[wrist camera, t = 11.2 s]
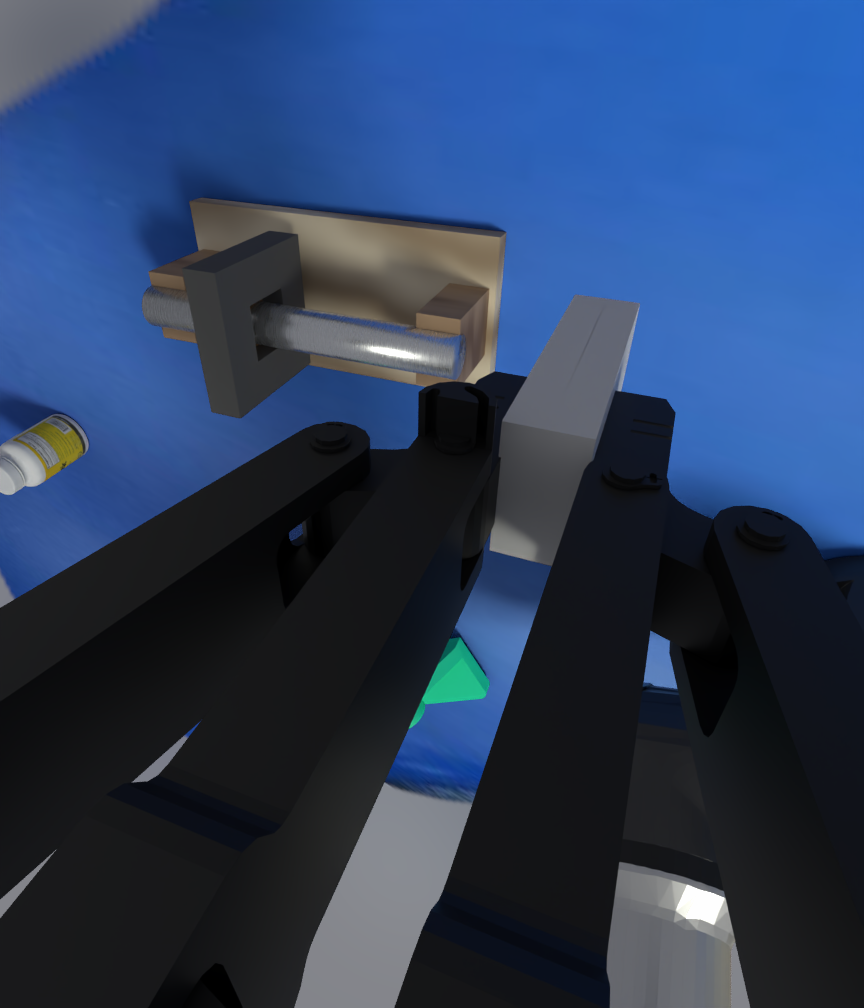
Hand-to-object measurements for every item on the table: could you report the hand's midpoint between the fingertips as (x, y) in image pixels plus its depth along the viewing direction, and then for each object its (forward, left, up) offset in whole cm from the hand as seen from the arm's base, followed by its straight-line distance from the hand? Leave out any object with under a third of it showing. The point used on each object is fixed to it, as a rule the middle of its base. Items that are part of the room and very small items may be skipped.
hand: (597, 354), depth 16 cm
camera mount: (-52, +14, -31) cm, 62 cm away
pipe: (-11, +23, -24) cm, 35 cm away
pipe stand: (-11, +23, -30) cm, 39 cm away
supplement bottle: (-32, +59, -31) cm, 74 cm away
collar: (-11, +26, -27) cm, 39 cm away
